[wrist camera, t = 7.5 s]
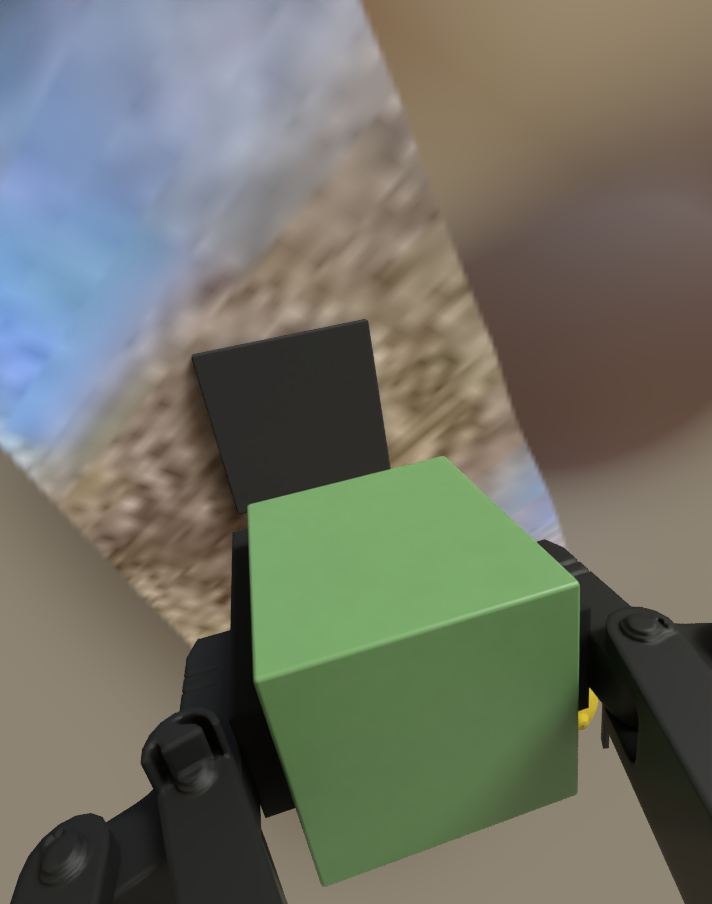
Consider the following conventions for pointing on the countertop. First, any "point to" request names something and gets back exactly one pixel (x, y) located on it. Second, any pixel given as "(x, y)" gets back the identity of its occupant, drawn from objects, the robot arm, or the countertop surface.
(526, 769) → the green block
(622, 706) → the robot arm
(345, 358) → the coaster
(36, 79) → the countertop surface
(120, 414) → the countertop surface
